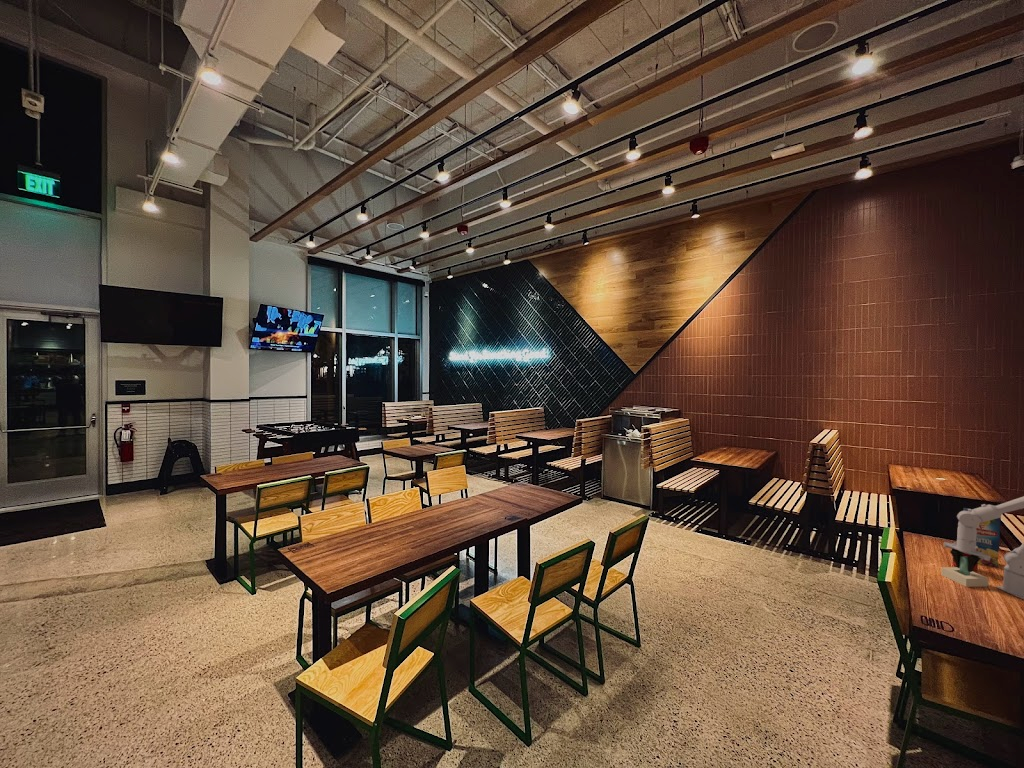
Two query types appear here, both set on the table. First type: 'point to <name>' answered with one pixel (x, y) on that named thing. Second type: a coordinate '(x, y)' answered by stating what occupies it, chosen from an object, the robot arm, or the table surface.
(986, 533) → the juice carton
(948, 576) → the socket block
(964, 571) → the peg
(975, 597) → the table surface
